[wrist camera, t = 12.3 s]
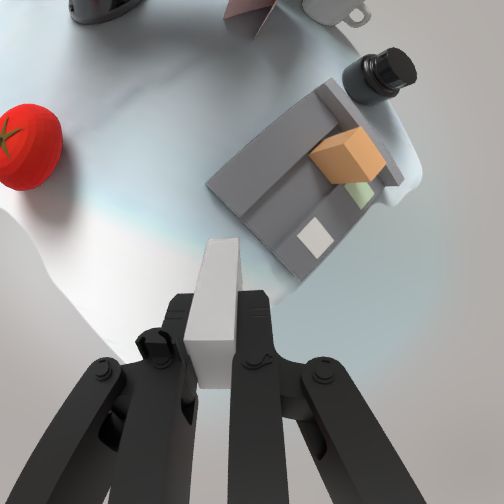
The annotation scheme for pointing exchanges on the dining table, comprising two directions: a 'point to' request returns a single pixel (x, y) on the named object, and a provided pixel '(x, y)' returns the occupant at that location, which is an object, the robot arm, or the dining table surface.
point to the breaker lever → (348, 157)
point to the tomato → (28, 146)
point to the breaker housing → (300, 181)
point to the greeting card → (247, 7)
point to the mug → (335, 11)
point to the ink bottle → (379, 76)
